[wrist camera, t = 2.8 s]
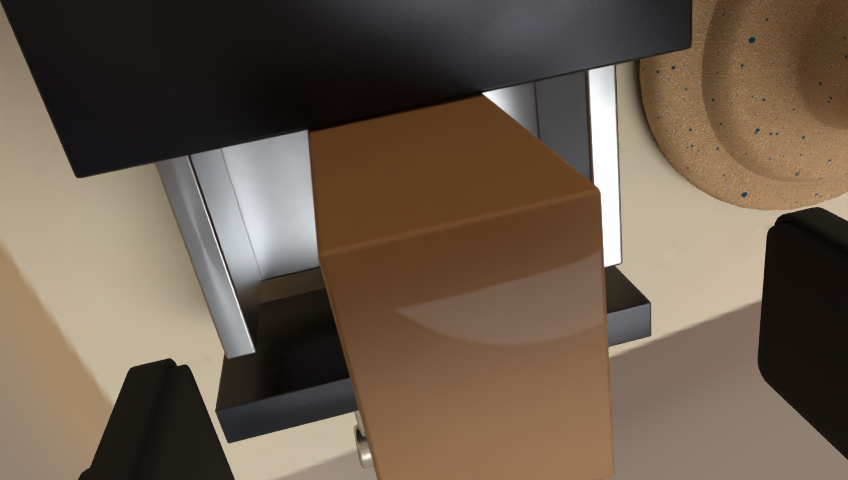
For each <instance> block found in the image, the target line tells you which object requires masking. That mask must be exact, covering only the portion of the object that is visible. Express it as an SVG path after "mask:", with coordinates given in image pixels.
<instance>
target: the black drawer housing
mask: <svg viewBox="0 0 848 480" xmlns="http://www.w3.org/2000/svg"><path fill="white" fill-rule="evenodd" d="M0 2H1V4H2V7H3V9H4V11H5V14H6V16H7V18H8V21H9V23H10V25H11V28H12V30H13V32H14V35H15V37H16V39H17V42H18V44H19V46H20V49H21V51H22V53H23V56H24V58H25V60H26V63H27V65H28V67H29V70H30V72H31V74H32V77H33V79H34V81H35V84H36V86H37V88H38V91H39V93H40V95H41V98H42V100H43V102H44V105H45V107H46V109H47V112H48V114H49V116H50V119H51V121H52V123H53V126H54V128H55V130H56V133H57V135H58V137H59V140H60V142H61V144H62V147H63V149H64V151H65V153H66V156H67V158H68V160H69V163H70V165H71V167H72V170H73V172H74V174H75V176H76V177H77V178H85V177H90V176H94V175H99V174H104V173H108V172H113V171H118V170H122V169H127V168H132V167H137V166H141V165H146V164H151V163H155V162H160V161H165V160H170V159H174V158H179V157H184V156H188V155H193V154H198V153H203V152H207V151H212V150H217V149H221V148H226V147H231V146H235V145H240V144H245V143H250V142H254V141H259V140H264V139H268V138H273V137H278V136H283V135H287V134H292V133H297V132H301V131H306V130H311V129H316V128H320V127H325V126H330V125H334V124H339V123H344V122H348V121H353V120H358V119H363V118H367V117H372V116H377V115H381V114H386V113H391V112H396V111H400V110H405V109H410V108H414V107H419V106H424V105H429V104H433V103H438V102H443V101H447V100H452V99H457V98H461V97H466V96H471V95H476V94H480V93H485V92H490V91H494V90H499V89H504V88H509V87H513V86H518V85H523V84H527V83H532V82H537V81H542V80H546V79H551V78H556V77H560V76H565V75H570V74H574V73H579V72H584V71H589V70H593V69H598V68H603V67H607V66H612V65H617V64H622V63H626V62H631V61H636V60H640V59H645V58H650V57H655V56H659V55H664V54H669V53H673V52H678V51H683V50H687V49H689V48H691V46H692V6H693V0H0Z"/></svg>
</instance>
